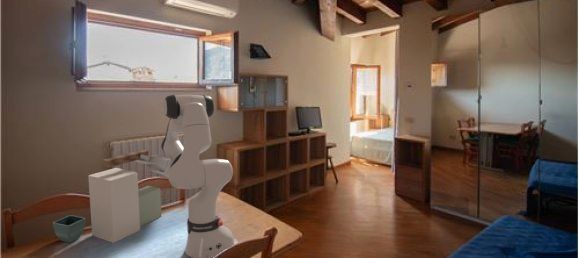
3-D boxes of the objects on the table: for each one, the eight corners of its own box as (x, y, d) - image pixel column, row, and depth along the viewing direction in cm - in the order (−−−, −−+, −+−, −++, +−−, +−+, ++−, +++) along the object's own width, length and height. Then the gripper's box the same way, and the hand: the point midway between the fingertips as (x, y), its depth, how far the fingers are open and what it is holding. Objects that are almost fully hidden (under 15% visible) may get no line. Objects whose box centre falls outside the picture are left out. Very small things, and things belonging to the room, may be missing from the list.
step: (149, 213, 185) (148, 185, 182) (161, 216, 182) (160, 188, 179) (125, 224, 172) (124, 194, 169) (137, 227, 168) (135, 197, 166)
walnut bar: (143, 155, 174) (143, 149, 174) (148, 156, 173) (148, 150, 172) (102, 166, 155) (102, 159, 154) (108, 167, 153) (107, 161, 153)
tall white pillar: (119, 223, 172) (116, 167, 167) (139, 230, 166) (137, 172, 161) (92, 235, 160) (88, 175, 155) (113, 242, 154) (110, 180, 149)
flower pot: (87, 236, 158) (85, 217, 157) (70, 245, 150) (68, 225, 149) (71, 233, 161) (69, 214, 159) (53, 242, 152) (51, 222, 151)
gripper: (143, 154, 185) (123, 145, 174) (173, 160, 177) (154, 151, 165) (139, 166, 184) (118, 158, 172) (169, 172, 175) (149, 164, 163)
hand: (136, 154), depth 168 cm, fingers closed on walnut bar, 3 cm apart
